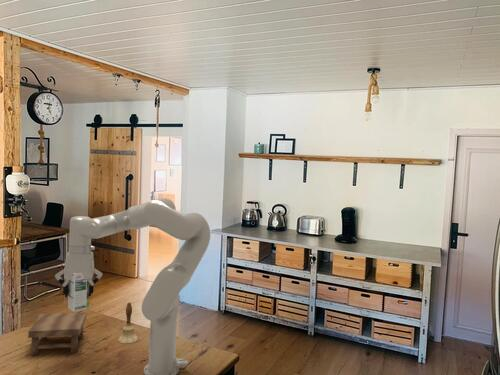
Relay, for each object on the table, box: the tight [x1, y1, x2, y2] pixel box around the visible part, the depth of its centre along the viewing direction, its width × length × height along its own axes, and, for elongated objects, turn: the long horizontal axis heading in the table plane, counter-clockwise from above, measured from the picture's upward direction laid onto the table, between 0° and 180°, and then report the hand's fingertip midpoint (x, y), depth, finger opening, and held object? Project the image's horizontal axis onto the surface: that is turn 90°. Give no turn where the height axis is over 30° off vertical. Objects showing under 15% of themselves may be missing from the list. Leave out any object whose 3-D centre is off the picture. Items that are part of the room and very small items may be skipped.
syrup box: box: [67, 272, 90, 313], centre depth 149 cm, size 6×6×14 cm
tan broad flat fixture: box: [27, 312, 87, 357], centre depth 161 cm, size 18×18×10 cm
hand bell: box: [117, 302, 139, 345], centre depth 169 cm, size 8×8×16 cm
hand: (78, 295), depth 149 cm, fingers closed on syrup box, 7 cm apart
